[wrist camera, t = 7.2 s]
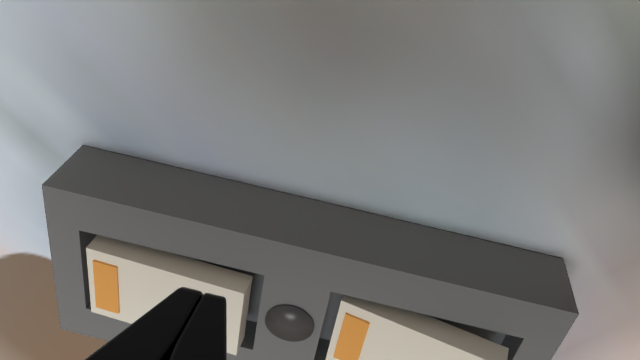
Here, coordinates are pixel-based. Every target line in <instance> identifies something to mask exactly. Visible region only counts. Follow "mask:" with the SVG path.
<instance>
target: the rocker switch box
mask: <svg viewBox="0 0 640 360" xmlns="http://www.w3.org/2000/svg"><path fill="white" fill-rule="evenodd" d="M42 190H43V197H44V205H45V213H46V220H47V228H48V236H49V243H50V251H51V258H52V265H53V274H54V281H55V289H56V297H57V304H58V312H59V318H60V327H61V329H63V330H67V331H71V332H75V333H79V334H82V335H86V336H90V337H95V338H98V339H102V340H107V341H110V340H111V339H113V338H114V337H115V336H117V335H118V334H119V333H121V332H122V331H123V330H124V329H126V328H127V327H128V326H130V325H131V324H130V323H127V322H124V321H120V320H117V319H114V318H110V317H107V316H104V315H101V314H97V313H94V312H91V302H90V290H89V278H88V267H87V255H86V247H87V246H88V245H89V244H90V243H91V241H92V240H93V239H94V238H95V237H96V236H97V235H100V236H104V237H108V238H113V239H117V240H121V241H125V242H129V243H133V244H137V245H141V246H145V247H150V248H154V249H158V250H162V251H166V252H170V253H174V254H177V255H181V256H184V257H188V258H191V259H195V260H198V261H202V262H205V263H209V264H212V265H216V266H219V267H223V268H226V269H229V270H233V271H236V272H240V273H243V274H247V275H250V276H253V278H252V285H251V292H250V299H249V307H248V314H247V321H246V328H245V336H244V339H243V341H242V344H241V346H240V348H239V350H238V353H237V355H233V354H229V353H227V360H325V359H326V356H327V352H328V348H329V344H330V341H331V337H332V333H333V329H334V326H335V322H336V318H337V314H338V311H339V307H340V303H341V300H342V298H343V296H344V295H347V296H351V297H355V298H359V299H363V300H367V301H372V302H376V303H380V304H384V305H388V306H392V307H396V308H400V309H404V310H409V311H413V312H417V313H421V314H425V315H427V316H430V317H432V318H435V319H437V320H440V321H442V322H445V323H447V324H450V325H452V326H455V327H457V328H460V329H462V330H465V331H467V332H470V333H472V334H475V335H477V336H480V337H482V338H484V339H487V340H489V341H492V342H494V343H497V344H499V345H502V346H504V347H507V348H509V351H508V358H507V360H551V359H552V357H553V356H554V354H555V352H556V351H557V349H558V347H559V346H560V344H561V342H562V341H563V339H564V338H565V336H566V334H567V333H568V331H569V329H570V328H571V326H572V324H573V323H574V321H575V319H576V318H577V316H578V315H579V313H578V309H577V306H576V302H575V299H574V295H573V291H572V288H571V284H570V281H569V277H568V274H567V270H566V266H565V263H564V259H562V258H558V257H553V256H549V255H545V254H541V253H536V252H532V251H528V250H524V249H520V248H515V247H511V246H507V245H503V244H498V243H494V242H490V241H486V240H481V239H477V238H473V237H469V236H465V235H460V234H456V233H452V232H448V231H443V230H439V229H435V228H431V227H426V226H422V225H418V224H414V223H410V222H405V221H401V220H397V219H393V218H388V217H384V216H380V215H376V214H371V213H367V212H363V211H359V210H355V209H350V208H346V207H342V206H338V205H333V204H329V203H325V202H321V201H316V200H312V199H308V198H304V197H300V196H295V195H291V194H287V193H283V192H278V191H274V190H270V189H266V188H261V187H257V186H253V185H249V184H245V183H240V182H236V181H232V180H228V179H223V178H219V177H215V176H211V175H206V174H202V173H198V172H194V171H190V170H185V169H181V168H177V167H173V166H168V165H164V164H160V163H156V162H151V161H147V160H143V159H139V158H135V157H130V156H126V155H122V154H118V153H113V152H109V151H105V150H101V149H96V148H92V147H88V146H84V145H82V146H81V147H80V148H79V149H78V150H77V151H76V152H75V153H74V154H73V155H72V156H71V157H70V158H69V159H68V160H67V161H66V162H65V163H64V164H63V165H62V166H61V167H60V168H59V169H58V170H57V171H56V172H55V173H54V174H53V175H52V176H51V177H50V178H49V179H48V180H47V181H46V182H44V183H43V184H42Z"/></svg>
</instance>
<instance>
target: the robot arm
mask: <svg viewBox="0 0 640 360" xmlns="http://www.w3.org/2000/svg"><path fill="white" fill-rule="evenodd" d="M85 360H227V304H226V298H225V297H223V296H219V295H215V294H211V293H205V294H203V293H202V292H201V291H198V290H194V289H190V288H186V287H181V288H178V289H177V290H175V291H174V292H173V293H172V294H170V295H169V296H168V297H166V298H165V299H164V300H162V301H161V302H160V303H158V304H157V305H156V306H155V307H153V308H152V309H151V310H149V311H148V312H147V313H145V314H144V315H143V316H141V317H140V318H139V319H138V320H136V321H135V322H134V323H132V324H131V325H130V326H128V327H127V328H126V329H124V330H123V331H122V332H121V333H119V334H118V335H117V336H115V337H114V338H113V339H111V340H110V341H109V342H107V343H106V344H105V345H103V346H102V347H101V348H100V349H98V350H97V351H96V352H94V353H93V354H92V355H90V356H89V357H88V358H86V359H85Z"/></svg>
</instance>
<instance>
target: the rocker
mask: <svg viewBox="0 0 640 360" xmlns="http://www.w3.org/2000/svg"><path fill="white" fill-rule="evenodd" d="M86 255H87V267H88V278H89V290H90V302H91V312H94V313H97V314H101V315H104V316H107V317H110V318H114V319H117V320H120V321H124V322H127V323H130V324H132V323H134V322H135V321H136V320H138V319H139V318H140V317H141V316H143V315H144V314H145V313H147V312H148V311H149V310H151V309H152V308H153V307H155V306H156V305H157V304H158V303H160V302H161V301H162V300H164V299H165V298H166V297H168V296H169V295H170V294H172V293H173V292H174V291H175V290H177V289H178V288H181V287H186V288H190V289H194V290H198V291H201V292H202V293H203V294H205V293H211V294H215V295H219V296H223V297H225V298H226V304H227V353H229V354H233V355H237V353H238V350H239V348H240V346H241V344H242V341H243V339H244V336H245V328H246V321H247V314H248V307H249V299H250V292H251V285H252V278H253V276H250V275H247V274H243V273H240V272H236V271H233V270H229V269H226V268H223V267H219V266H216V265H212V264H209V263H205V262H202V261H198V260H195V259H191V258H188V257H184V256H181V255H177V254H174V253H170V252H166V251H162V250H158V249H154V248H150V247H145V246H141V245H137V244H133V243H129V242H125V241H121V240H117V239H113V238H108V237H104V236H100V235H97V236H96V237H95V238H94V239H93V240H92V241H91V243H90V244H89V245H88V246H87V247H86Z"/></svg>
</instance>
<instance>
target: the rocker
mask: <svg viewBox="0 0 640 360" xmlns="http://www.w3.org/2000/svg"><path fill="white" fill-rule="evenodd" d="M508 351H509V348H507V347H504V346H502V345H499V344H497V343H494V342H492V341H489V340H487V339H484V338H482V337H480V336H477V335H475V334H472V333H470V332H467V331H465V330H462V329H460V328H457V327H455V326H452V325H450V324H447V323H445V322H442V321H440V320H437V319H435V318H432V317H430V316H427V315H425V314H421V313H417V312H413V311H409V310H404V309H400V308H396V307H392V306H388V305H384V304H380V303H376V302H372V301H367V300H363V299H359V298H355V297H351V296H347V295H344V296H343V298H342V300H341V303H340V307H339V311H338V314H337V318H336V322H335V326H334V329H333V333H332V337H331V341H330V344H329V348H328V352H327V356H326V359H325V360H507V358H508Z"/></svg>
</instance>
